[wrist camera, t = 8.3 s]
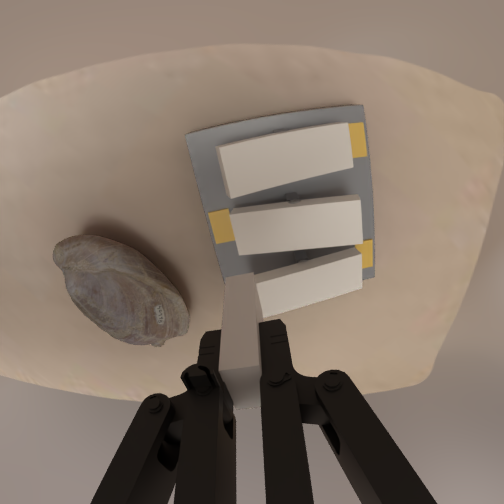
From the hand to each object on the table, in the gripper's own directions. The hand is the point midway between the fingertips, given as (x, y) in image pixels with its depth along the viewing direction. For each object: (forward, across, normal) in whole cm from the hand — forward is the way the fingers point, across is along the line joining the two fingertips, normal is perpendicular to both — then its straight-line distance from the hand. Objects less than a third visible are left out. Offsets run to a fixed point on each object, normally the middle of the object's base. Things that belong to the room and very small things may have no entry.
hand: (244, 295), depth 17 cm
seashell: (+15, -14, -5) cm, 21 cm away
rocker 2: (+9, +4, 0) cm, 10 cm away
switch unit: (+14, +4, 0) cm, 15 cm away
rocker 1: (+9, +4, +6) cm, 11 cm away
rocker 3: (+9, +4, -6) cm, 11 cm away
